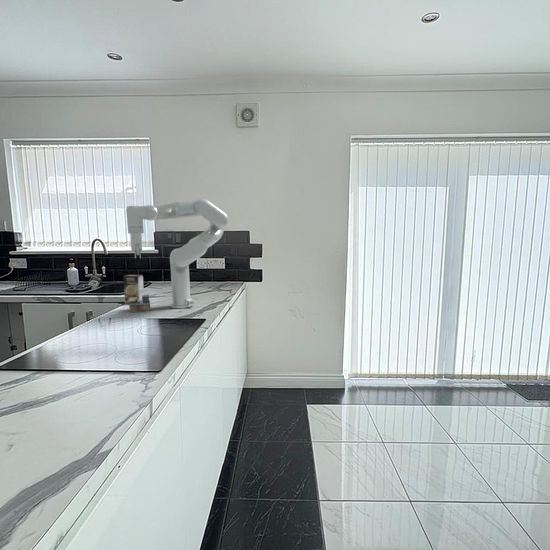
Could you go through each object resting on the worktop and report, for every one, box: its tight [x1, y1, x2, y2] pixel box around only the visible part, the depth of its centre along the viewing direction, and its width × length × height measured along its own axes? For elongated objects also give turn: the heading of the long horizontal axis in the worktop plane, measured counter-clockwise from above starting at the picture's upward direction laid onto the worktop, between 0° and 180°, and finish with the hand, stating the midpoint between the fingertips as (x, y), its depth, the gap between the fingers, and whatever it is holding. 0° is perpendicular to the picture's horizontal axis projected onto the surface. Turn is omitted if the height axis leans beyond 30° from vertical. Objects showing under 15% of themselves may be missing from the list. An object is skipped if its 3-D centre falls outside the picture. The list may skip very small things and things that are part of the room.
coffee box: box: [122, 274, 145, 305], centre depth 199 cm, size 9×6×16 cm
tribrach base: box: [128, 304, 152, 313], centre depth 182 cm, size 10×8×3 cm
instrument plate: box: [128, 294, 151, 306], centre depth 181 cm, size 10×8×4 cm
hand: (138, 265), depth 180 cm, fingers closed
